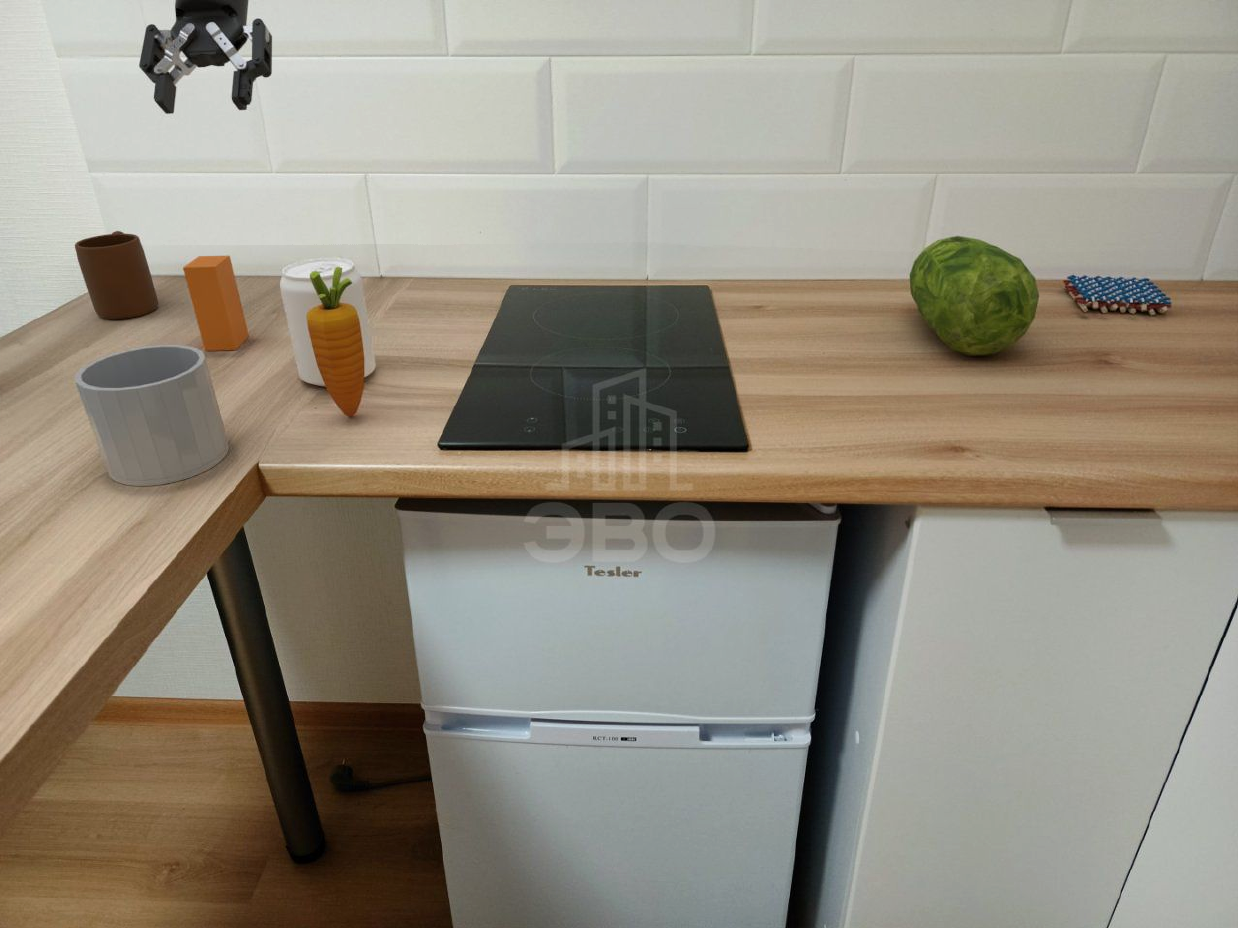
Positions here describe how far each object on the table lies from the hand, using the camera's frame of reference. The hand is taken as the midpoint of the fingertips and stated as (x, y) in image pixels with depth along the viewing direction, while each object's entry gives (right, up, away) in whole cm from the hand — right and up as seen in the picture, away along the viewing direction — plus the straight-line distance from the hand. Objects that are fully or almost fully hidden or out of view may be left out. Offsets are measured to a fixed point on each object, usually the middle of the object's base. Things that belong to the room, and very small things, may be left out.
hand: (202, 107), depth 97 cm
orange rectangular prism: (0, -26, +6) cm, 26 cm away
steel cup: (+6, -40, -19) cm, 45 cm away
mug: (-19, -19, +19) cm, 33 cm away
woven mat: (+111, -19, +14) cm, 114 cm away
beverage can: (+16, -31, -3) cm, 35 cm away
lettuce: (+87, -25, +5) cm, 91 cm away
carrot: (+21, -36, -12) cm, 43 cm away
